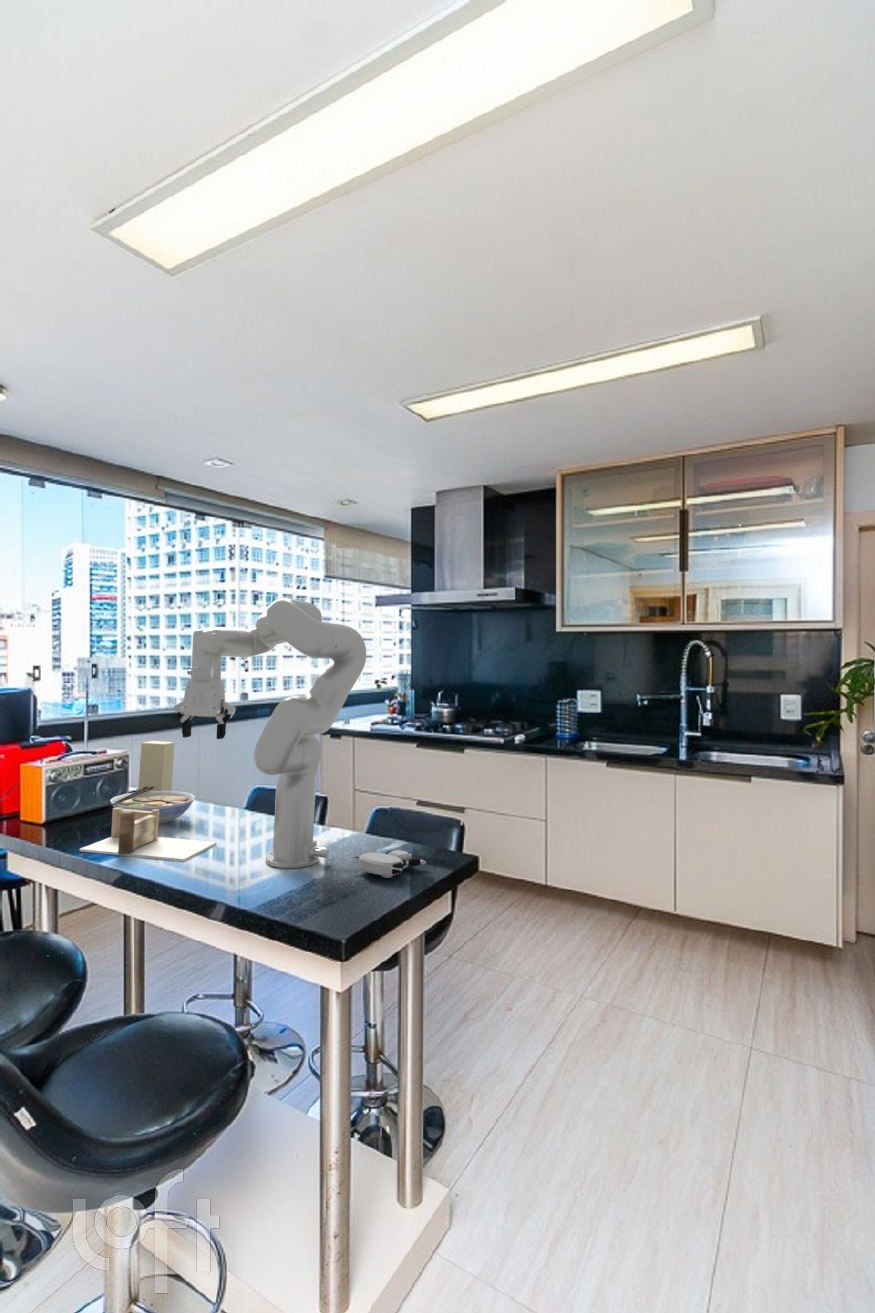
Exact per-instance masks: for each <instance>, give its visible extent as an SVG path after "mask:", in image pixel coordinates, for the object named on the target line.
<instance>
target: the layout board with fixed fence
mask: <svg viewBox="0 0 875 1313" xmlns="http://www.w3.org/2000/svg"><path fill="white" fill-rule="evenodd" d="M123 811H135V820H138V819H140V818H143V817H145V816H148V815H156V819H155V820H154V839H153V840H152V841H150V842H148V843H146V844H144V845H142V846H140V847H137V848H135V849H133V852H131V853H126V854H121V853H118V848H119V830H120V813H121V812H123ZM111 815H112V817H111V833H110V837H107V838H104V839H102V840H100V841H97V842H94V843H92V844H89V845H85V846H83V847H80V848H79V852H85V853H92V854H93V853H94V854H101V855H102V854H103V855H112V856H113V855H114V856H124V857H135V858H143V859H153V860H163V861H165V860H166V861H175V862H186V861H188V860H190V859H192V858H193V857H196V856H198V855H200V854H201V853H204V852H205V851H207V850H209V849H211V848H213V847H214V846H216V845H217V843H218V842H216V841H209V840H208V841H206V840H198V839H197V840H195V839H183V838H176V837H175V838H173V837H165V836H159V827H160V825H159V810H158V809H155V810H152V811H143V810H131V809H123V808H114V807H113V808H112V814H111Z"/></svg>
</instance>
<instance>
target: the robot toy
mask: <svg viewBox="0 0 875 1313" xmlns="http://www.w3.org/2000/svg"><path fill="white" fill-rule="evenodd" d="M412 855H413V854H412V853H409V852H408V851H404V850H400V849H399V850H398V849H396V850H395V849H394V850H387V851H386V853H382V852H373V851H372V852H367V853H363V854H361V855H360V856H355V855H351V858H352V859H353V858H354V859H358V867H359V869H360V870H362V871H363V872H364V871H365V872H366V873H367V872H369V873H373V874H372V875H378V876H381V875H382V876H393V875H394V876H396V874H397V875H400V874H401V873H403V871H404V870H403V866H405V865H410V866H409V867H412V866H417V865H420V866H421V865H425V864H427V862H426V860H424V859H420V857H413V856H412ZM369 873H368V874H369ZM399 873H400V874H399ZM382 876H381V877H382ZM394 876H393V877H394Z"/></svg>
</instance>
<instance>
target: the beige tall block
mask: <svg viewBox="0 0 875 1313" xmlns="http://www.w3.org/2000/svg"><path fill="white" fill-rule="evenodd" d="M174 755H175V742H173V741H164V740H163V741H162V740H161V741H158V740H150V741H145V742H144V741H143V742H141V746H140V757H139V758H140V761H139V776H138V790H140V789H142V788H144V787H146V786H148V788H150V787H154V789H151V790H149V791H172V789H173V788H172V786H173V770H174ZM148 788H147V789H148ZM138 790H137V791H138ZM145 790H146V789H145Z"/></svg>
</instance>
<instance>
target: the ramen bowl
mask: <svg viewBox="0 0 875 1313" xmlns="http://www.w3.org/2000/svg"><path fill="white" fill-rule="evenodd" d="M147 788H148V786H146V787H144V788H142V789H140V790H137V791H135V792H131V793H130V792H129V793H128V792H127V793H124V794H120V795H118V796H116V795H115V796H114V797H112V798H111V799H109V801H110V805H108V807H113V808H123V809H131V810H143V811H152V810H155V809H158V810H159V826H162V825H165V824H167V823H168V822H171V821H174V820H175V819H178V818H181V817H182V815H184V814H185V812H186V811H187V810H188V809H189V808H190V807H191V805H192V804H193V802H194V800H195V798H196V796H195V795H194V794H193V793H189V792H184V791H177V790H171V791H149V790H151V789H154V787H150V788H148V789H147ZM145 789H146V790H145Z"/></svg>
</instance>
